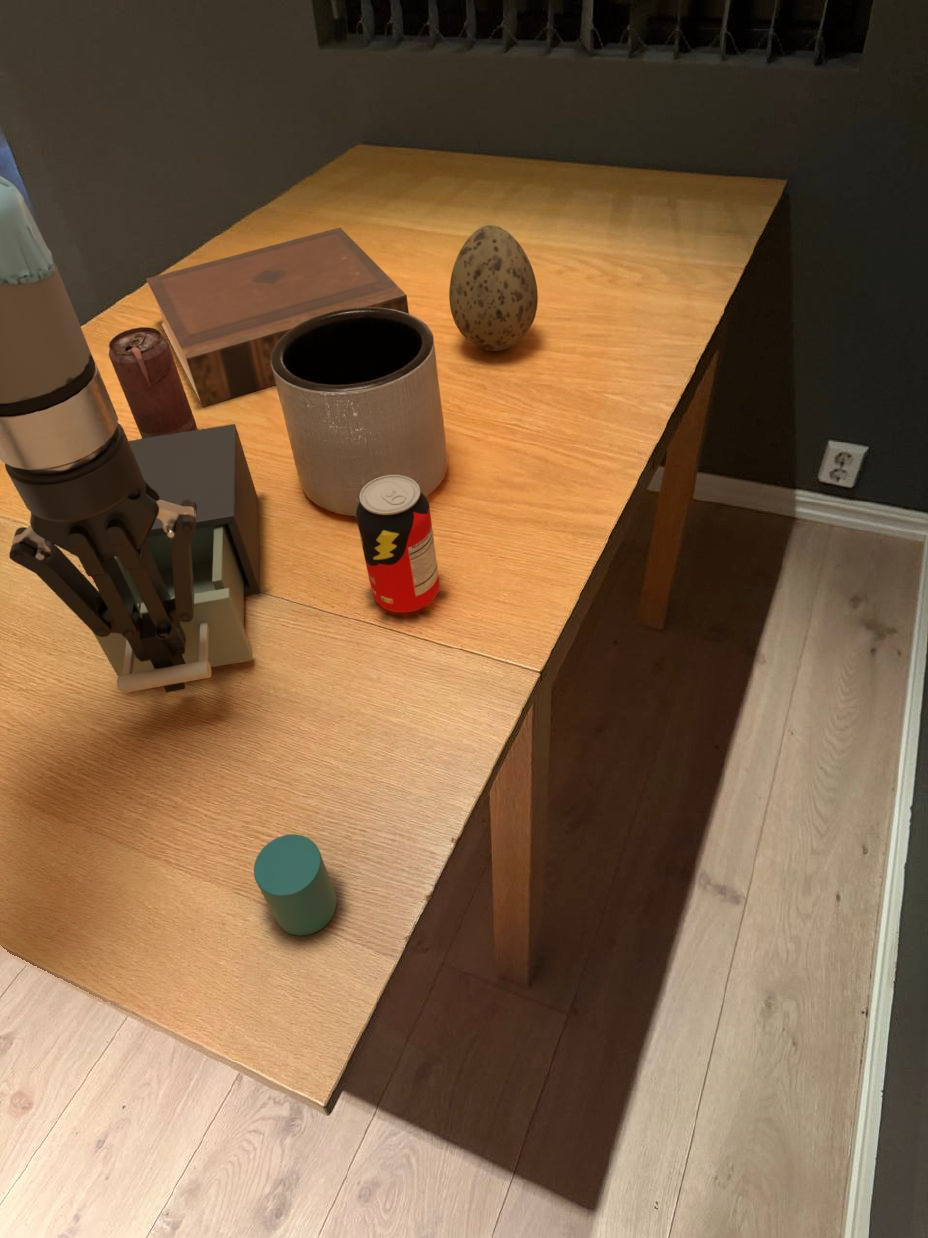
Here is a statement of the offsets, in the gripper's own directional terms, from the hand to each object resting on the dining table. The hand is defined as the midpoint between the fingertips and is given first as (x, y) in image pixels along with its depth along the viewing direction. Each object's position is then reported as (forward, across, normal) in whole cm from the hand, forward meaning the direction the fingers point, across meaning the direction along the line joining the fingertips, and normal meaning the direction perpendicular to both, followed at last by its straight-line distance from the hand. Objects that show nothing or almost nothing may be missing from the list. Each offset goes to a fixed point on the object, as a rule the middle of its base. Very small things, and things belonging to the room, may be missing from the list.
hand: (176, 678), depth 73 cm
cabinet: (+3, 0, -19) cm, 20 cm away
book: (+4, -10, -62) cm, 63 cm away
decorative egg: (+4, -37, -50) cm, 63 cm away
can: (+4, +3, -38) cm, 39 cm away
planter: (+4, -19, -27) cm, 34 cm away
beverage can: (+4, -20, -8) cm, 22 cm away
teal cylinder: (+3, -9, +21) cm, 23 cm away
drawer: (+3, 0, -7) cm, 7 cm away
